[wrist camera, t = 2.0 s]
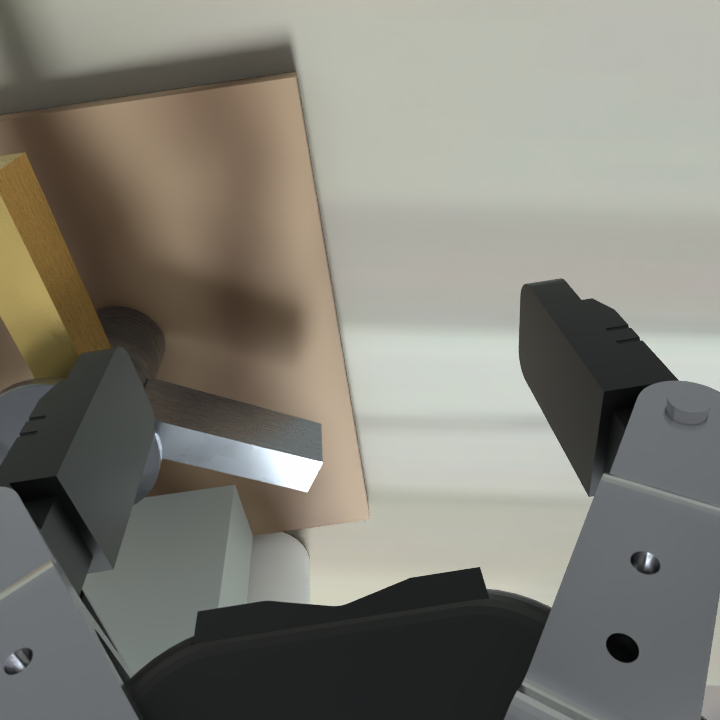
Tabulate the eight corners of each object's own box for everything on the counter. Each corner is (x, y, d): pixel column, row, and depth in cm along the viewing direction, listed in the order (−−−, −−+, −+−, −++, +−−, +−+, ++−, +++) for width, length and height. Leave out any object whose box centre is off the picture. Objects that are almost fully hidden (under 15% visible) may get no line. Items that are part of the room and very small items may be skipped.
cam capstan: (263, 98, 21) (245, 157, 15) (324, 406, 29) (330, 525, 23) (-193, 165, 21) (-398, 250, 15) (-3, 452, 29) (-85, 583, 23)
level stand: (234, 484, 32) (210, 666, 24) (252, 536, 34) (236, 716, 26) (53, 510, 32) (-35, 700, 24) (84, 559, 34) (15, 747, 26)
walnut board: (296, 71, 22) (295, 76, 21) (368, 503, 35) (369, 519, 34) (-259, 152, 22) (-286, 162, 21) (27, 551, 36) (19, 568, 35)
